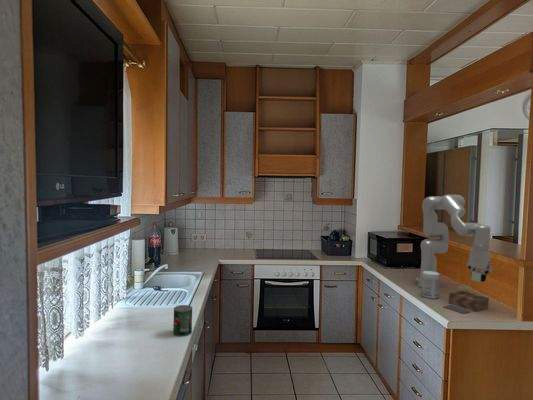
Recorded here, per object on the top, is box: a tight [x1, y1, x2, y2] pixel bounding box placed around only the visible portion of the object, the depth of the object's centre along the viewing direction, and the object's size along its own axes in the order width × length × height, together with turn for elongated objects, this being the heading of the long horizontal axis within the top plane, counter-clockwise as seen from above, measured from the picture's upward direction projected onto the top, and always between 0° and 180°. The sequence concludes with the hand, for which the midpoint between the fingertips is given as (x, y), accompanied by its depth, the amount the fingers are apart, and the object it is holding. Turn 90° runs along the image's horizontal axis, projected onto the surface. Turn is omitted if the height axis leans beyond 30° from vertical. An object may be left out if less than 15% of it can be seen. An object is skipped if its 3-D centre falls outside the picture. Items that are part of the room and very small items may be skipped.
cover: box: [470, 269, 483, 283], centre depth 219 cm, size 5×5×6 cm
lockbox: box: [448, 290, 490, 312], centre depth 224 cm, size 16×12×6 cm
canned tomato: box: [172, 304, 193, 337], centre depth 171 cm, size 8×8×11 cm
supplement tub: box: [421, 271, 440, 300], centre depth 239 cm, size 10×10×15 cm
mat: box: [442, 304, 472, 315], centre depth 217 cm, size 12×7×1 cm, turn 33°
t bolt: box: [457, 285, 472, 294], centre depth 229 cm, size 7×6×3 cm
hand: (477, 279), depth 220 cm, fingers closed on cover, 5 cm apart
